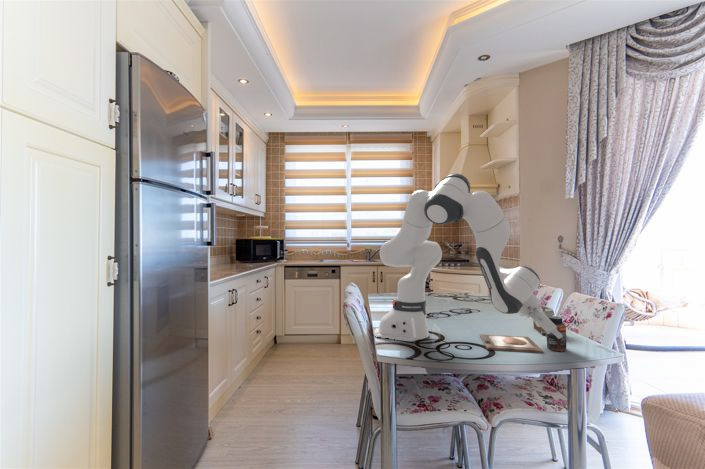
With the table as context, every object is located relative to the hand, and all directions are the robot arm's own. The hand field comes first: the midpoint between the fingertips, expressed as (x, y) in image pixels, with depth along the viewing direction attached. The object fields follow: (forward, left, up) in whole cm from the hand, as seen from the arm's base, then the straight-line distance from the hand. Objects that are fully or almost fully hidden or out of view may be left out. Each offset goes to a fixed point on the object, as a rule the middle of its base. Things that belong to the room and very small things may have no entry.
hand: (558, 334), depth 114 cm
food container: (+3, +22, -6) cm, 23 cm away
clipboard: (-16, +3, -5) cm, 17 cm away
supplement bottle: (-1, 0, -6) cm, 6 cm away
